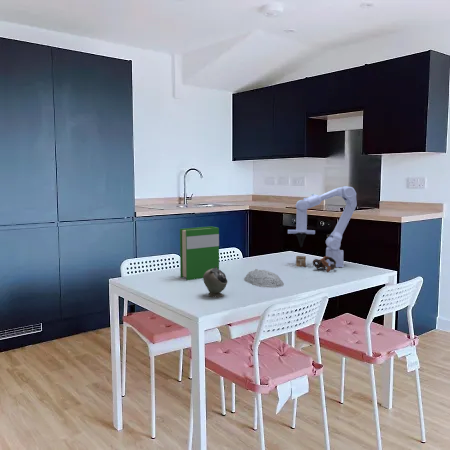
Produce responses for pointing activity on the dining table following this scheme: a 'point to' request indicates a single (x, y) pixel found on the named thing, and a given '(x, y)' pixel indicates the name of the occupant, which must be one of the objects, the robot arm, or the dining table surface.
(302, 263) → the letter cube
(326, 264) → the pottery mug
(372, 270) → the dining table surface
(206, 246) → the hardback book
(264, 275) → the grey rock
